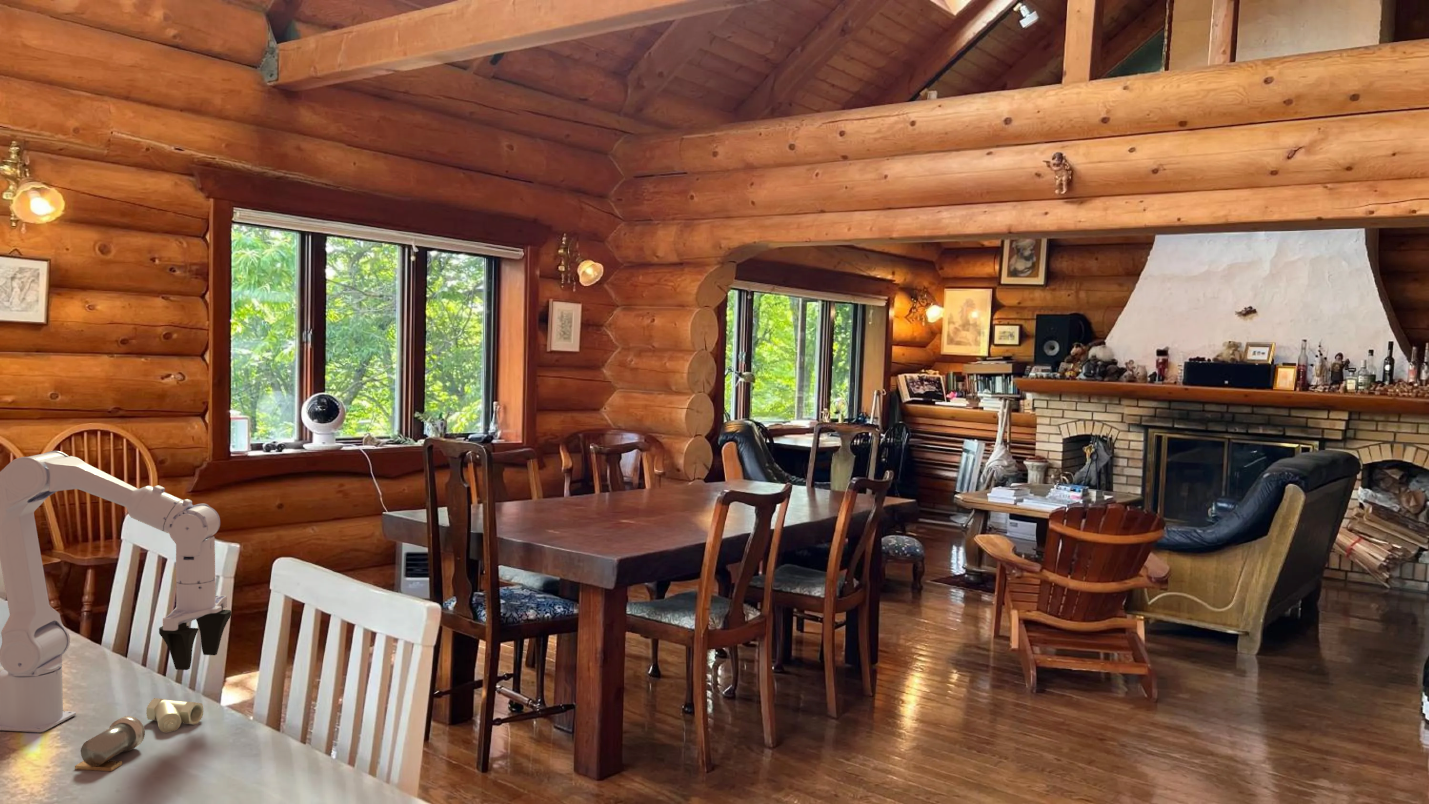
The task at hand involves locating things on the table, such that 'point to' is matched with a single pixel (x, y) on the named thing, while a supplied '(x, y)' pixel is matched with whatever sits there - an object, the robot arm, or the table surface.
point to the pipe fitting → (173, 713)
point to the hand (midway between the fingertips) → (196, 661)
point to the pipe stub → (111, 744)
